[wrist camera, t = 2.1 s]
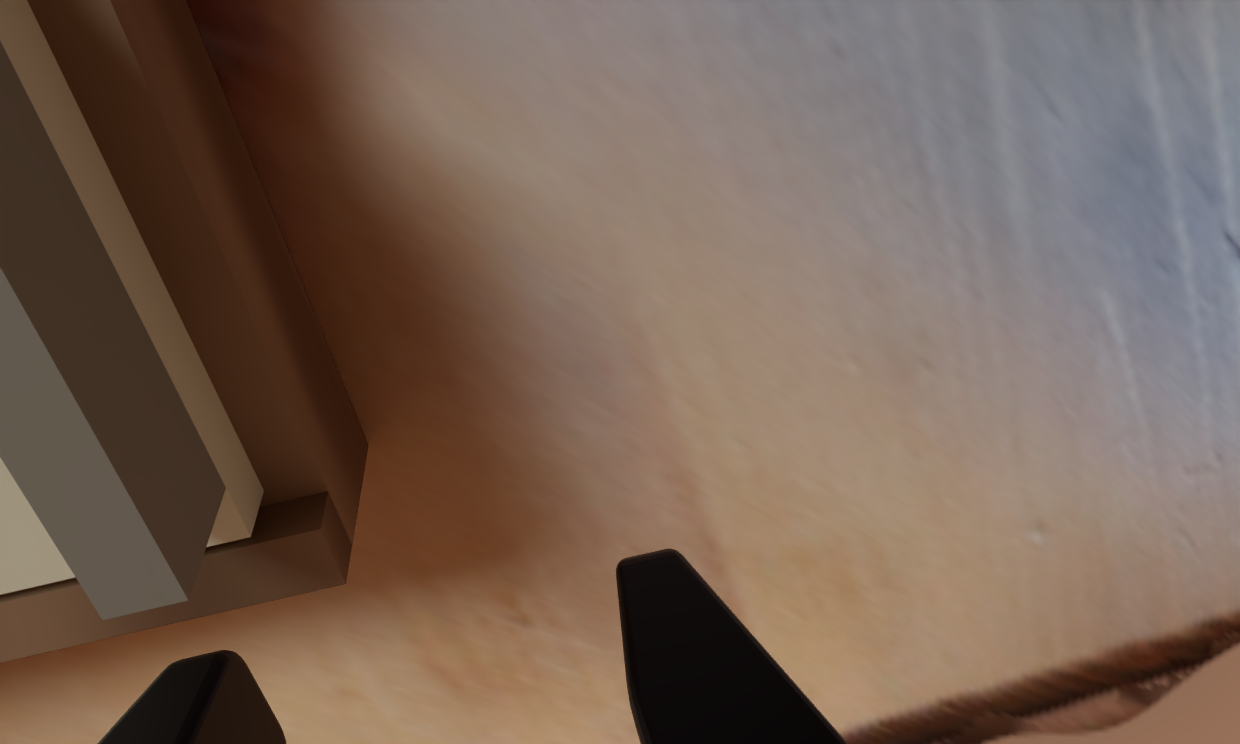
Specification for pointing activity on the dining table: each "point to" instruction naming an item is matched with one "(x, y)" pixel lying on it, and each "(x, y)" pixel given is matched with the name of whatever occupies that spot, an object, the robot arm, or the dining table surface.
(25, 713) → the dining table surface
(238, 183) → the walnut box
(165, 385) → the cover plate
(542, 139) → the dining table surface
